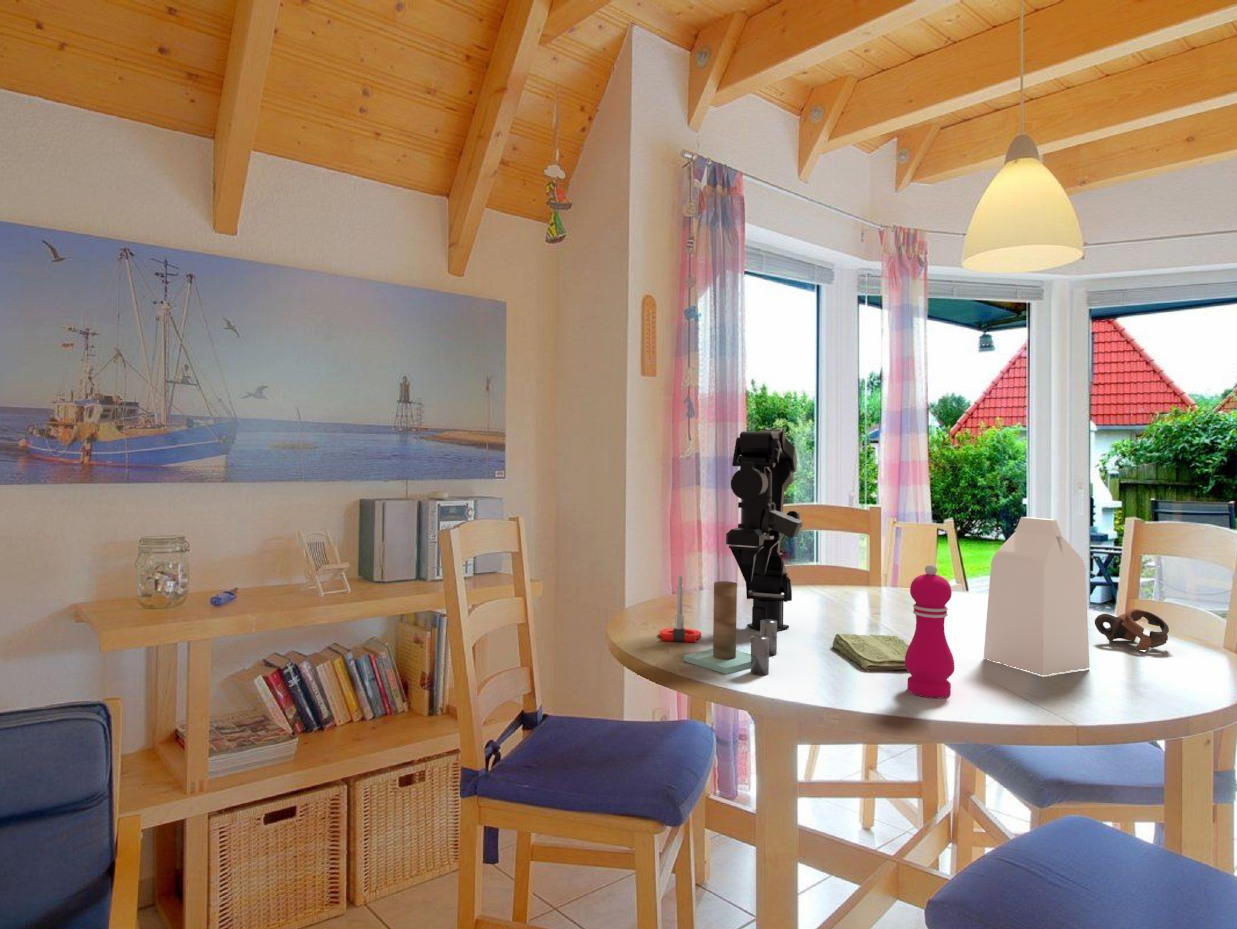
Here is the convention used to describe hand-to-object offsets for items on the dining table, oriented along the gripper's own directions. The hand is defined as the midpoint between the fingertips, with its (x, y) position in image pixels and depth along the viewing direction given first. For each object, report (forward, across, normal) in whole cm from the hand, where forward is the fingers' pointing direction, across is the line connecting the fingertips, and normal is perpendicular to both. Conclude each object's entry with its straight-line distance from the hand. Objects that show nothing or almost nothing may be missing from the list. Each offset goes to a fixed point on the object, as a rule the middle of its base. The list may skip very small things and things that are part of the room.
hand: (755, 578), depth 146 cm
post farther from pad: (+13, -4, -4) cm, 14 cm away
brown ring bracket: (+13, +36, -65) cm, 75 cm away
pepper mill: (+13, -14, -32) cm, 37 cm away
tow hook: (+13, 0, +15) cm, 20 cm away
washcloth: (+14, +3, -23) cm, 27 cm away
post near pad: (+13, -17, -6) cm, 22 cm away
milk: (+13, +12, -48) cm, 51 cm away
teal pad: (+13, -14, +2) cm, 19 cm away
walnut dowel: (+12, -13, +2) cm, 18 cm away
